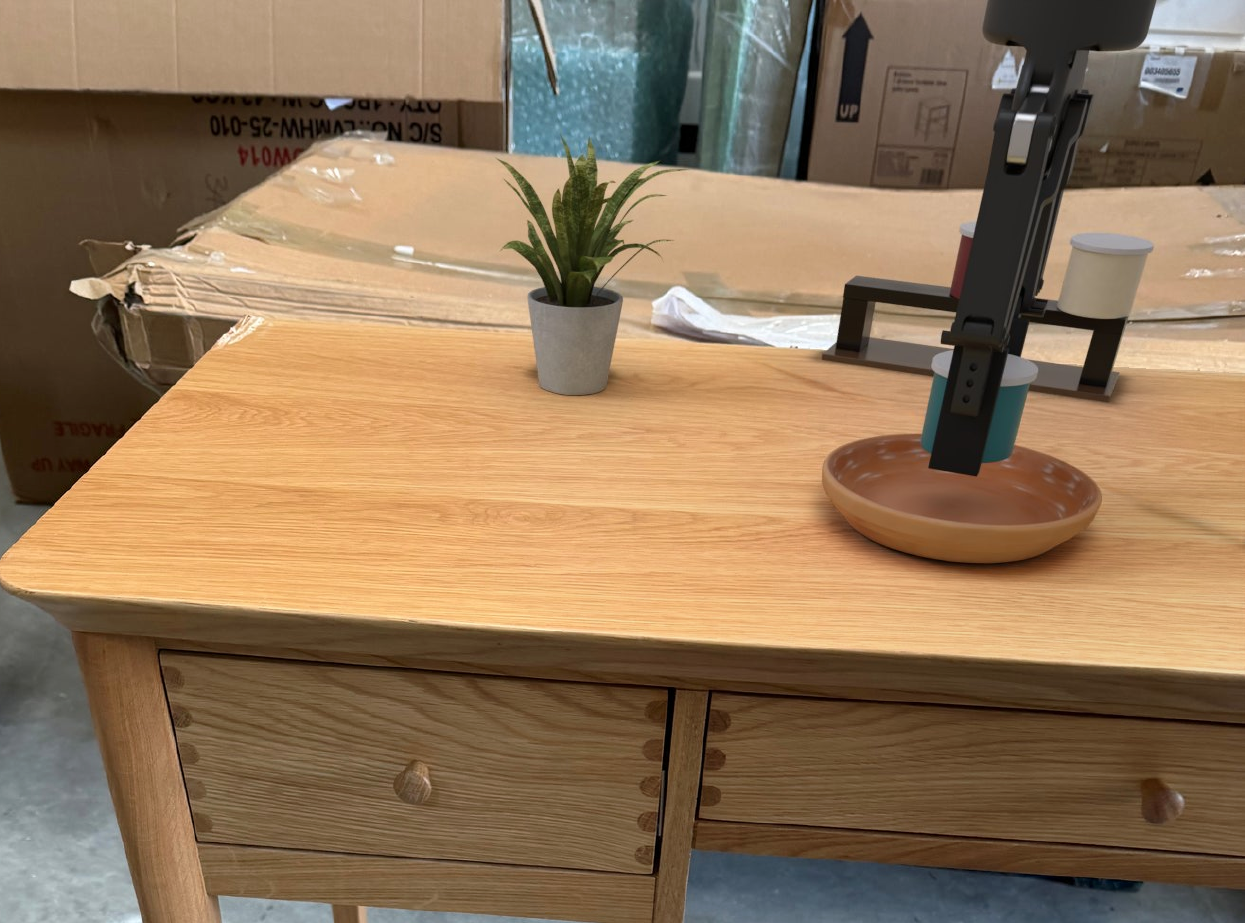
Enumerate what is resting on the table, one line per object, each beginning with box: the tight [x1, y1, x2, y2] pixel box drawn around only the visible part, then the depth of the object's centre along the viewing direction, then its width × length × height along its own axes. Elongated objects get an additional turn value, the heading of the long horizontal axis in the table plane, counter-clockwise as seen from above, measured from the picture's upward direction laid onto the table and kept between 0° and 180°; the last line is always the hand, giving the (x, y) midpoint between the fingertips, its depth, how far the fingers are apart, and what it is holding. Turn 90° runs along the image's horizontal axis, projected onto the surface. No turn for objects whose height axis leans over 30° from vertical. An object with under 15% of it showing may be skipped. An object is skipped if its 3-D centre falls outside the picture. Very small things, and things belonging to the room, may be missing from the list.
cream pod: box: [1057, 232, 1155, 319], centre depth 88 cm, size 6×6×5 cm
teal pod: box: [920, 350, 1038, 463], centre depth 68 cm, size 6×6×5 cm
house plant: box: [495, 134, 690, 396], centre depth 86 cm, size 14×14×16 cm
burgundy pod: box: [950, 220, 977, 299], centre depth 91 cm, size 6×6×5 cm
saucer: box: [821, 432, 1103, 564], centre depth 72 cm, size 16×16×3 cm
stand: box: [821, 275, 1130, 403], centre depth 94 cm, size 7×22×6 cm, turn 64°
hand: (965, 451), depth 70 cm, fingers open, 6 cm apart
